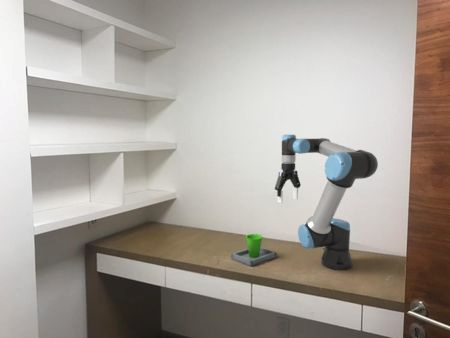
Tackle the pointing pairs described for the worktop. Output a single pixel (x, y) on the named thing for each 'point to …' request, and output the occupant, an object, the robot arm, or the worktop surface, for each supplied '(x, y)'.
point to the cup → (254, 245)
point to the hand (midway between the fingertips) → (287, 200)
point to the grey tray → (245, 259)
